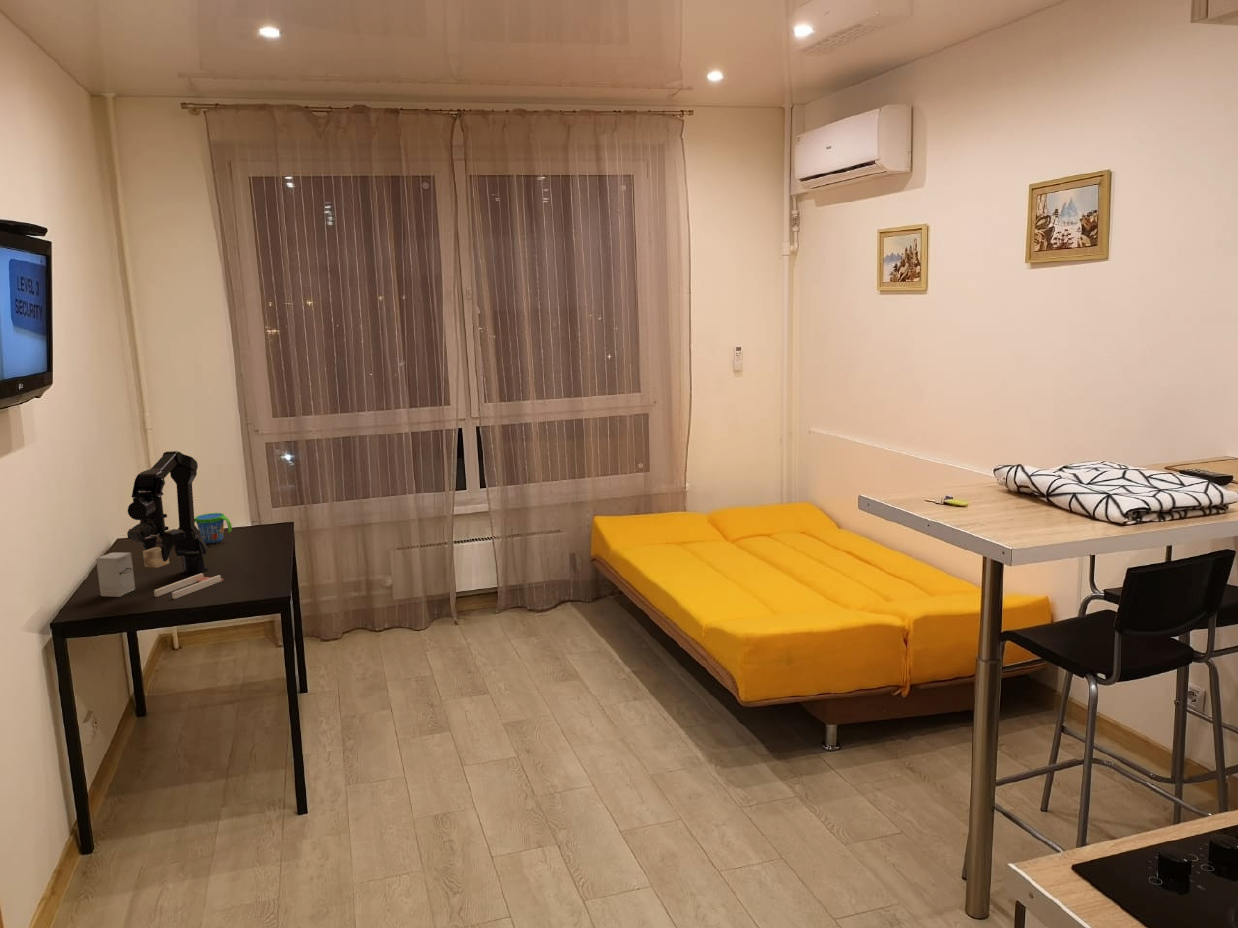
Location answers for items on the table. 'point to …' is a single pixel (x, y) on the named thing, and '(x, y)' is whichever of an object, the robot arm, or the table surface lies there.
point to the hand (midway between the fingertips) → (159, 560)
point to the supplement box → (115, 574)
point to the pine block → (154, 558)
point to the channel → (197, 578)
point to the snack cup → (212, 526)
